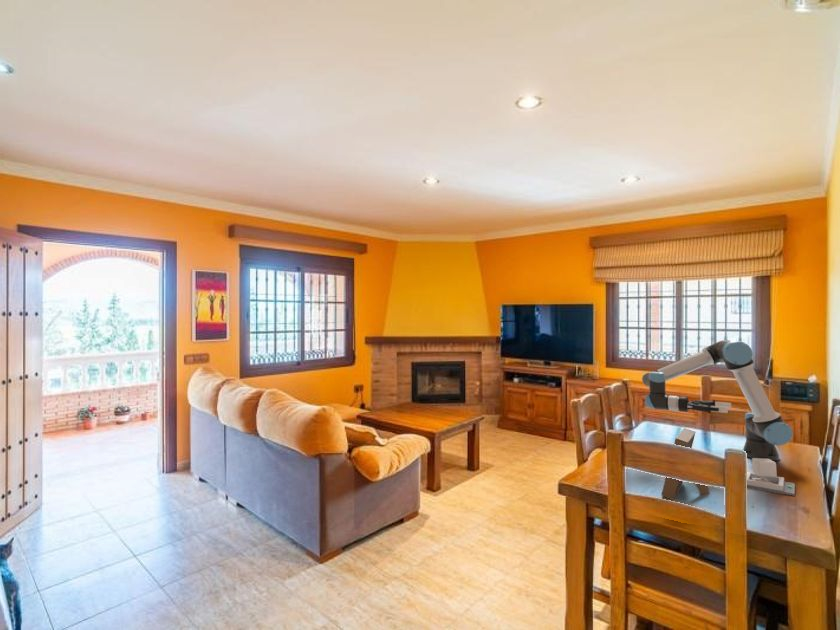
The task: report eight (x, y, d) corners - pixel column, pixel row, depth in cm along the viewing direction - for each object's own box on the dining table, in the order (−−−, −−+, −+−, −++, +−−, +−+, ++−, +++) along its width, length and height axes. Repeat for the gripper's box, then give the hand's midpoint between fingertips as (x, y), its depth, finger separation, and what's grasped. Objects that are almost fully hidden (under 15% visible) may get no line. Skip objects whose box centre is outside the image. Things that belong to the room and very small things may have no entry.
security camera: (777, 486, 184) (776, 462, 185) (758, 485, 186) (757, 461, 186) (769, 481, 190) (767, 458, 191) (750, 480, 192) (749, 457, 192)
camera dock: (737, 476, 200) (737, 469, 200) (794, 485, 187) (794, 478, 187) (734, 485, 189) (733, 478, 189) (794, 496, 176) (794, 488, 176)
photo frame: (661, 497, 178) (659, 436, 178) (671, 482, 194) (669, 426, 195) (704, 506, 168) (702, 441, 169) (710, 489, 185) (709, 431, 186)
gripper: (684, 407, 232) (732, 411, 218) (673, 415, 213) (726, 420, 199) (683, 393, 232) (732, 396, 218) (673, 399, 214) (725, 403, 200)
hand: (729, 407), depth 209 cm, fingers open, 13 cm apart
